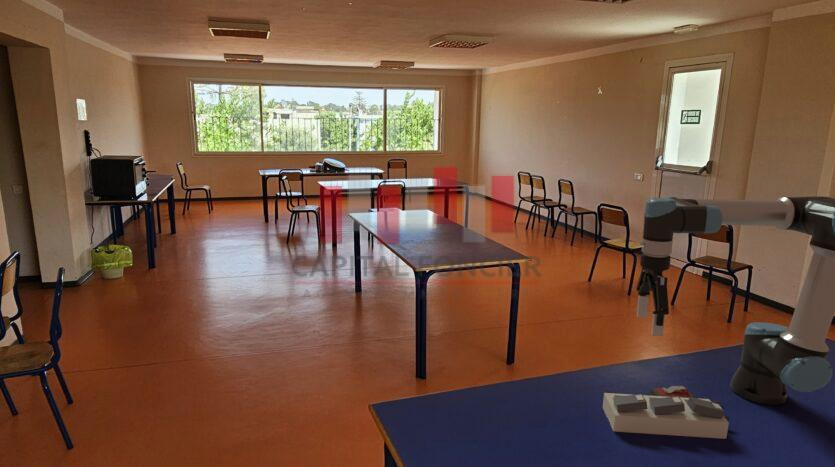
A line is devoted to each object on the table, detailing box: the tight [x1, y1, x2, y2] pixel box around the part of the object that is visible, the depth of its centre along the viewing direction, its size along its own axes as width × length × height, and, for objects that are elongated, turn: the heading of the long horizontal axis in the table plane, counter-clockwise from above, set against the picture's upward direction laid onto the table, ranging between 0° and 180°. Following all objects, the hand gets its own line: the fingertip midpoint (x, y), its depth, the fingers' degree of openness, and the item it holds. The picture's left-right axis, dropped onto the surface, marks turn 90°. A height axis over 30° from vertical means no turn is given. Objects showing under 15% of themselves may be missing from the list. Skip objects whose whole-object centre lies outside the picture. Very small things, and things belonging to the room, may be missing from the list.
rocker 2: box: [649, 396, 685, 415], centre depth 144 cm, size 8×4×3 cm, turn 84°
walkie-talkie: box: [649, 385, 721, 405], centre depth 160 cm, size 9×4×20 cm
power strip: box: [602, 392, 730, 440], centre depth 148 cm, size 33×12×5 cm, turn 84°
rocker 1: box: [613, 393, 647, 413], centre depth 145 cm, size 8×4×3 cm, turn 84°
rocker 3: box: [687, 397, 726, 419], centre depth 143 cm, size 8×4×3 cm, turn 85°
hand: (649, 325), depth 147 cm, fingers open, 13 cm apart
